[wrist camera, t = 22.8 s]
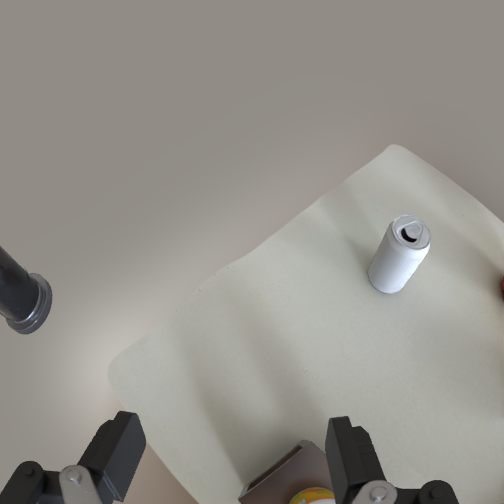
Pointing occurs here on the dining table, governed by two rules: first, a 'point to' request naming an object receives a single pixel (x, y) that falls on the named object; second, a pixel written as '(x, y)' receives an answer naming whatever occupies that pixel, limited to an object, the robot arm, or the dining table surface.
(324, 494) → the supplement bottle
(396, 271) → the beverage can
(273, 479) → the shelf
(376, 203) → the dining table surface
